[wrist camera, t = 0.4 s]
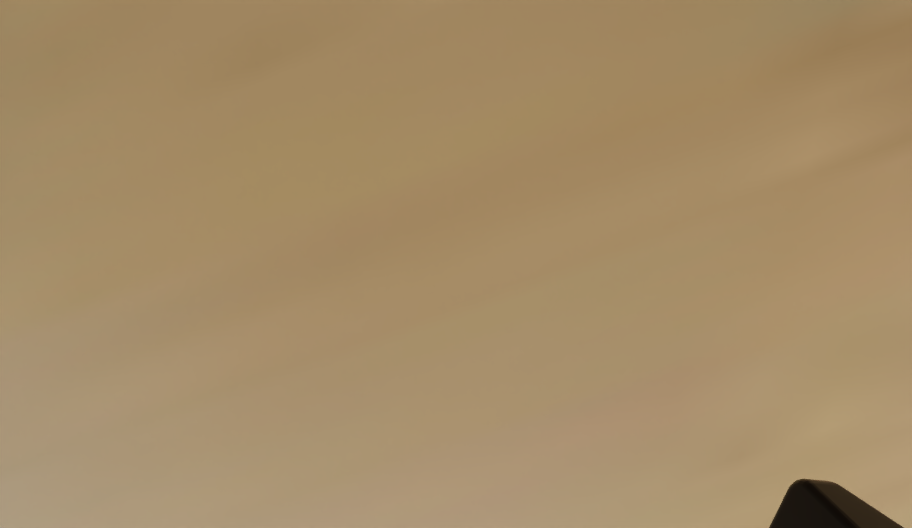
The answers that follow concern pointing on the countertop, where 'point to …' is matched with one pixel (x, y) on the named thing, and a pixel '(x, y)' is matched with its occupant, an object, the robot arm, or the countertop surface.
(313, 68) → the countertop surface
